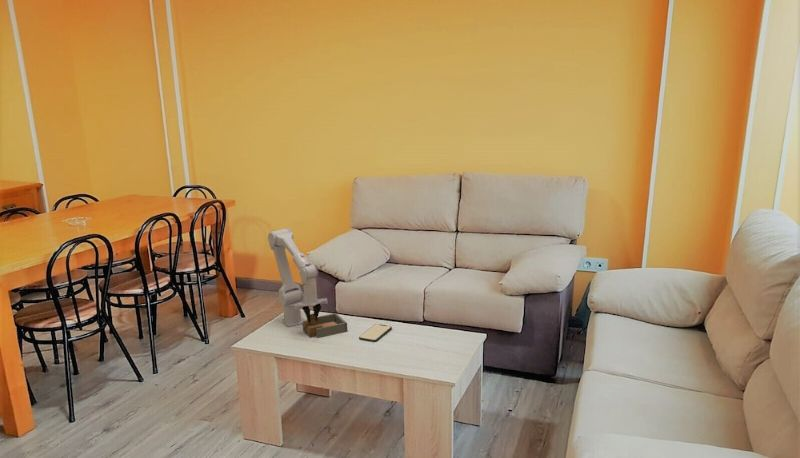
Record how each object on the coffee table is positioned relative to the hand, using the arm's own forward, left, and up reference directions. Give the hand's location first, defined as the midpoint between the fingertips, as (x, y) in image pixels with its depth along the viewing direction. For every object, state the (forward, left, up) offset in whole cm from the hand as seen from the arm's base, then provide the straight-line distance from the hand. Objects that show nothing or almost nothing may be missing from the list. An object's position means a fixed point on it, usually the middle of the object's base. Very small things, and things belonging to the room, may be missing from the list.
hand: (312, 321), depth 261 cm
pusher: (0, 0, -5) cm, 5 cm away
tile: (0, +7, -6) cm, 9 cm away
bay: (0, +7, -5) cm, 8 cm away
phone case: (+16, +23, -6) cm, 29 cm away
